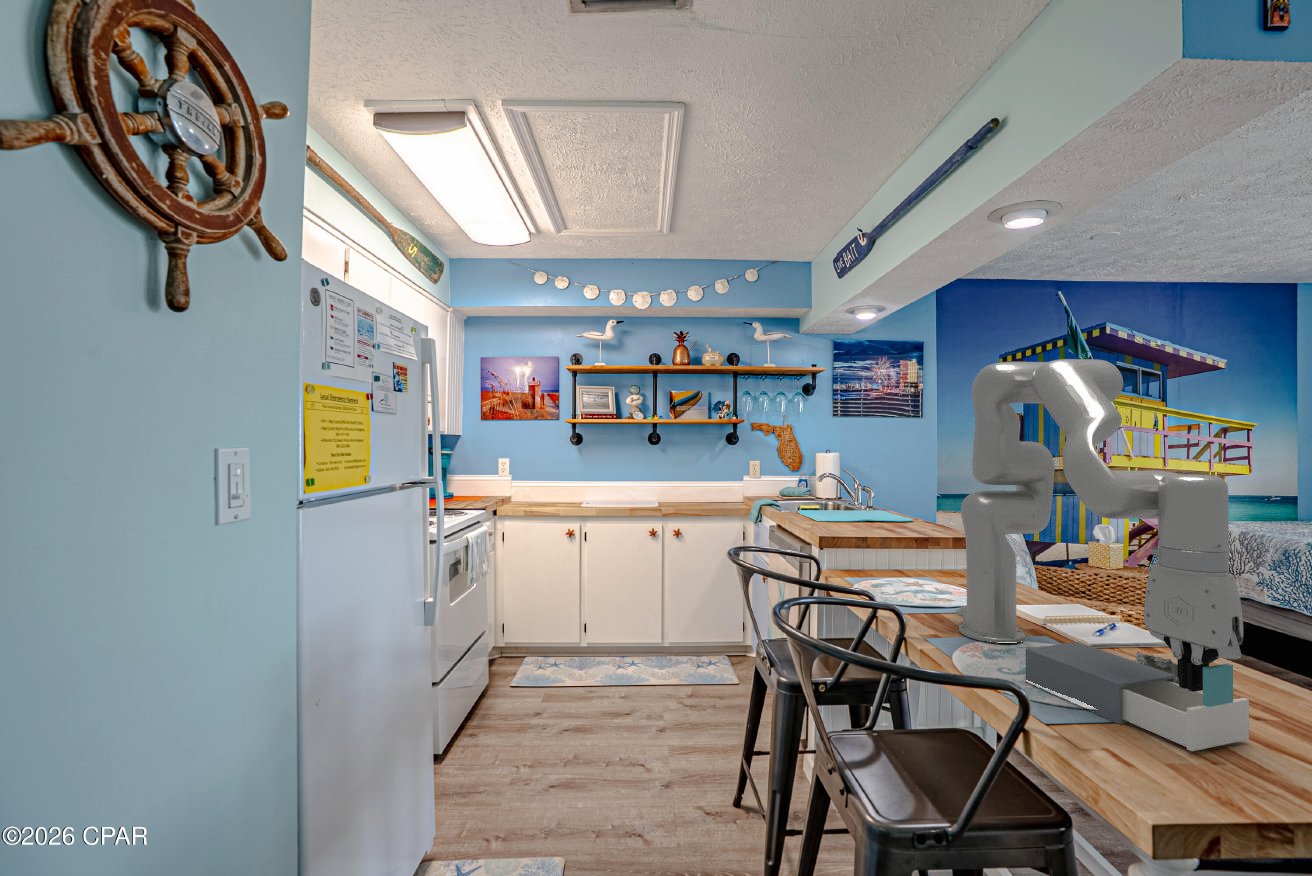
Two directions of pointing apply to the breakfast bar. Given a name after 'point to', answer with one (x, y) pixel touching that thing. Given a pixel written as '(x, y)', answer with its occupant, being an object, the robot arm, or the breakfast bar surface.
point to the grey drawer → (1190, 710)
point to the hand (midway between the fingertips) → (1193, 688)
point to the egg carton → (1158, 663)
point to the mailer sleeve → (1089, 675)
